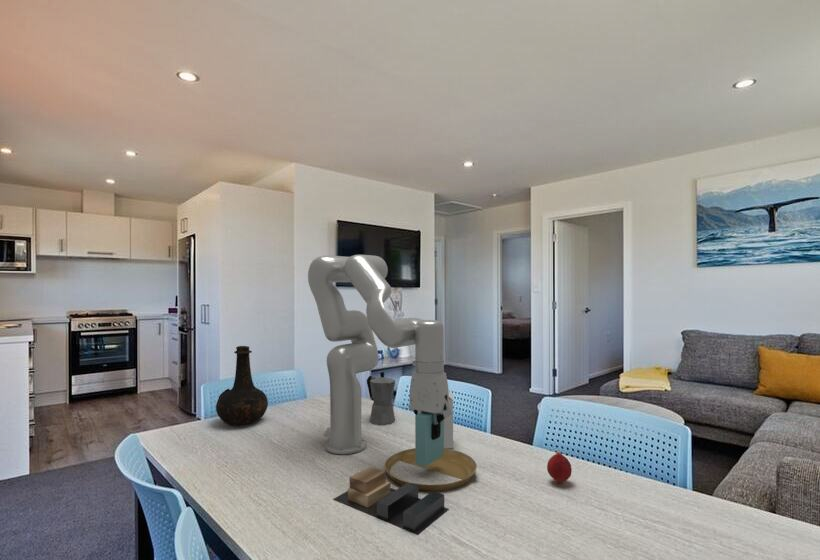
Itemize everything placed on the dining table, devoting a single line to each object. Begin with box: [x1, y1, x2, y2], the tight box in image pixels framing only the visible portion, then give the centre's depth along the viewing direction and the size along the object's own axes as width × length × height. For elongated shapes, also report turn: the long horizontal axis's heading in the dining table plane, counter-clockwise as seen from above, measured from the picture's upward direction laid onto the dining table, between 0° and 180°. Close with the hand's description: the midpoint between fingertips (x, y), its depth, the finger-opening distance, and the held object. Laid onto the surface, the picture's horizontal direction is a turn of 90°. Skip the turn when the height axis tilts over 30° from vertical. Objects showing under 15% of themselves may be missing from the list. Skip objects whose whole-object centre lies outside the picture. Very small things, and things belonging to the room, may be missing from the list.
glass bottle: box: [215, 345, 269, 427], centre depth 157 cm, size 18×18×28 cm
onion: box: [546, 450, 573, 484], centre depth 108 cm, size 6×6×8 cm
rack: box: [332, 482, 450, 536], centre depth 96 cm, size 24×12×4 cm, turn 54°
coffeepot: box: [366, 371, 396, 426], centre depth 159 cm, size 15×9×18 cm, turn 44°
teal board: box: [414, 410, 444, 467], centre depth 113 cm, size 3×9×12 cm, turn 144°
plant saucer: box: [384, 448, 478, 492], centre depth 113 cm, size 24×24×3 cm
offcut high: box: [349, 466, 387, 494], centre depth 100 cm, size 5×7×2 cm
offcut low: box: [347, 480, 391, 507], centre depth 100 cm, size 6×8×2 cm
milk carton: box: [444, 390, 454, 449], centre depth 135 cm, size 7×7×19 cm
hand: (429, 436), depth 113 cm, fingers closed on teal board, 3 cm apart
